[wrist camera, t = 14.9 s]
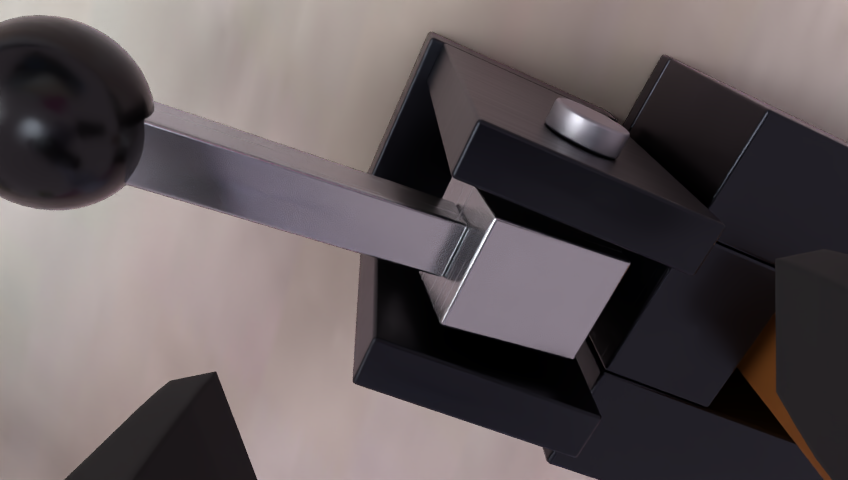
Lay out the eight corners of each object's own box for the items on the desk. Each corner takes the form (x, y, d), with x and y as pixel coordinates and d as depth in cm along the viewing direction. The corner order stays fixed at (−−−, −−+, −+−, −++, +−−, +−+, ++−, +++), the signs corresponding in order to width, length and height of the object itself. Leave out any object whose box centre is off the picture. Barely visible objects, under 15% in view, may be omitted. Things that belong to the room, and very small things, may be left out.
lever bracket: (344, 224, 20) (323, 401, 13) (437, 10, 18) (475, 78, 11) (511, 288, 21) (578, 485, 14) (618, 92, 19) (762, 205, 12)
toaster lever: (-39, 135, 12) (-111, 210, 10) (-4, -32, 11) (-73, 4, 9) (520, 300, 16) (569, 382, 14) (583, 187, 15) (648, 254, 13)
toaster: (868, 464, 24) (998, 614, 19) (506, 331, 21) (545, 464, 16) (1055, 241, 21) (1269, 347, 16) (661, 52, 18) (769, 108, 13)
